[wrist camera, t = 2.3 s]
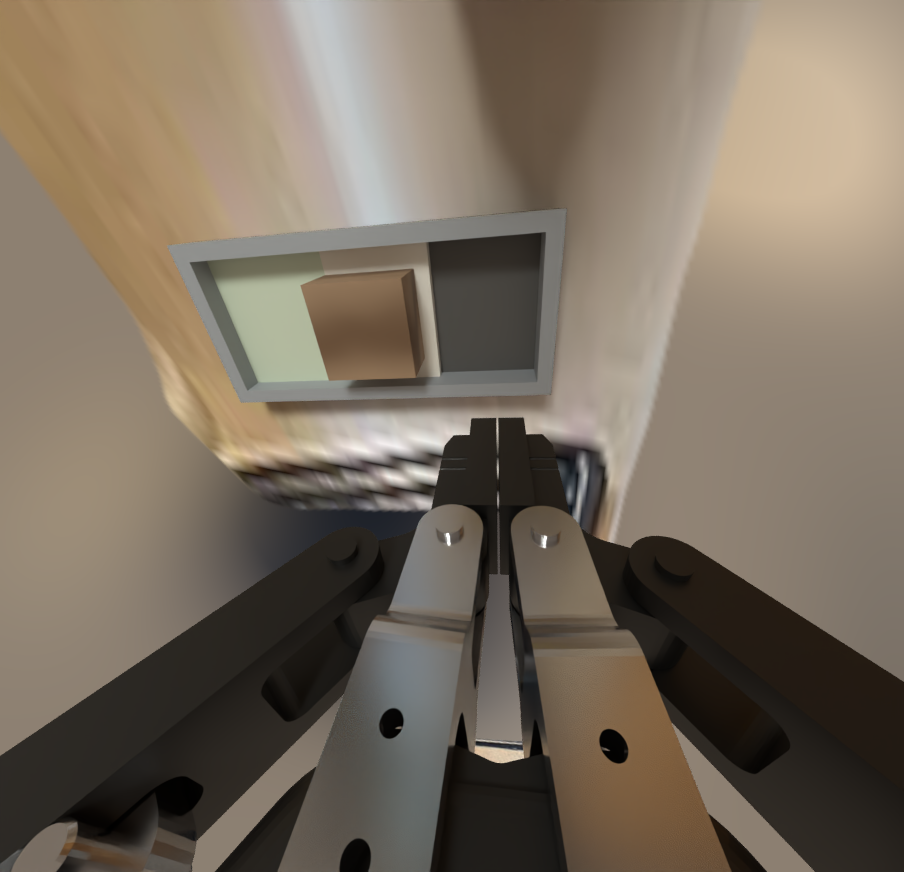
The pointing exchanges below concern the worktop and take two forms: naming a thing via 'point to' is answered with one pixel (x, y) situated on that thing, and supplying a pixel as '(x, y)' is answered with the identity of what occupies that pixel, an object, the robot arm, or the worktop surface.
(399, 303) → the block
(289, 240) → the tray
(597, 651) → the robot arm
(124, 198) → the worktop surface
